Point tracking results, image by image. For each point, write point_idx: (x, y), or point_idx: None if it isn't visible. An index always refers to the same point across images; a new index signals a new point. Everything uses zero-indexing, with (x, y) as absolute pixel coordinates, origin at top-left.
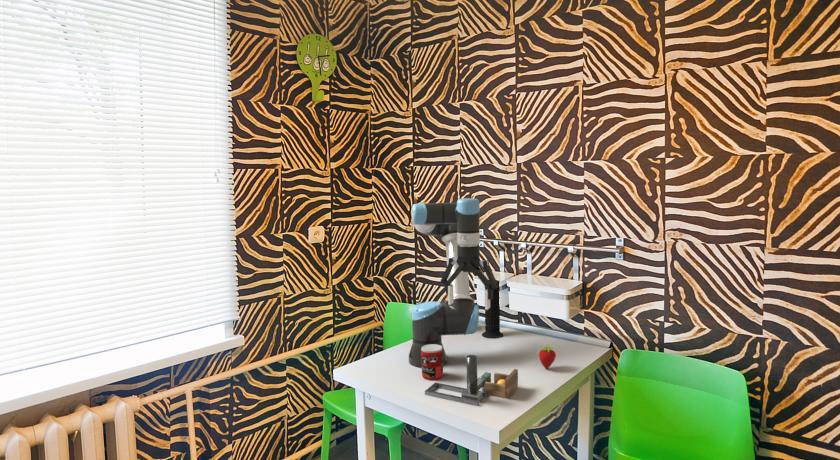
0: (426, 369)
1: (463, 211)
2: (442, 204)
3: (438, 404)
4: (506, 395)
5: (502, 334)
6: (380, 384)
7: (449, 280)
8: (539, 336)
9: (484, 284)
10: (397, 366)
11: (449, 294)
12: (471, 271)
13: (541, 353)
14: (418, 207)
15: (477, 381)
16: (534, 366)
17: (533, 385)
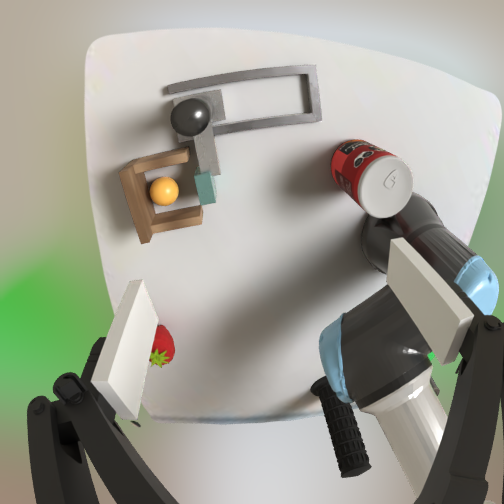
0: (365, 143)
1: None
2: None
3: (253, 38)
4: (135, 160)
5: (313, 392)
6: (422, 71)
7: (490, 358)
8: (255, 412)
9: (105, 430)
10: (438, 172)
11: (429, 276)
12: None
13: (160, 342)
14: None
15: (208, 149)
16: (187, 325)
17: (133, 251)
